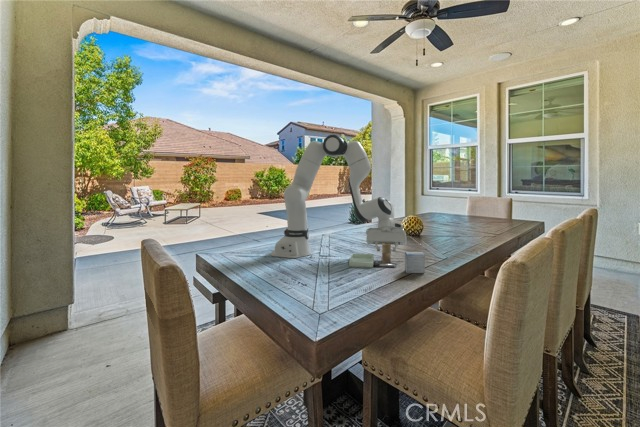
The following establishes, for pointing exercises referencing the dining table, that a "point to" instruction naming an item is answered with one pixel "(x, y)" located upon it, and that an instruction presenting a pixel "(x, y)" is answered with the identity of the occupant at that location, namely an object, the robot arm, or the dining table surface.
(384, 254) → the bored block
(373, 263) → the pin gauge
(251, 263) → the dining table surface
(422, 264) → the medicine box
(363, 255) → the tray
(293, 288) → the dining table surface
